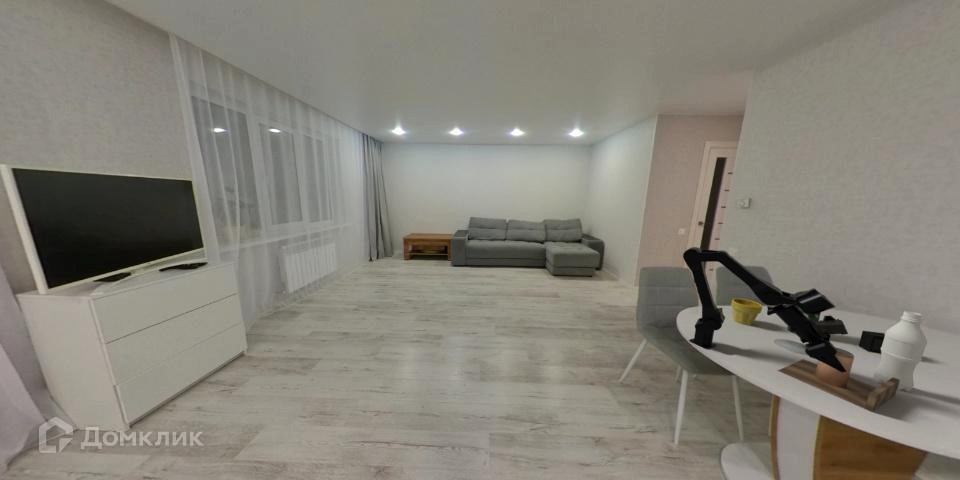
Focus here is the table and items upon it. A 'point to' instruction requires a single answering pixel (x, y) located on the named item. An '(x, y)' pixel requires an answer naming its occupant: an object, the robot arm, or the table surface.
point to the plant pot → (745, 311)
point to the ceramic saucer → (791, 346)
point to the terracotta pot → (833, 375)
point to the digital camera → (871, 341)
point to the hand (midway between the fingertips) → (841, 365)
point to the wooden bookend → (852, 393)
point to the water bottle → (901, 351)
